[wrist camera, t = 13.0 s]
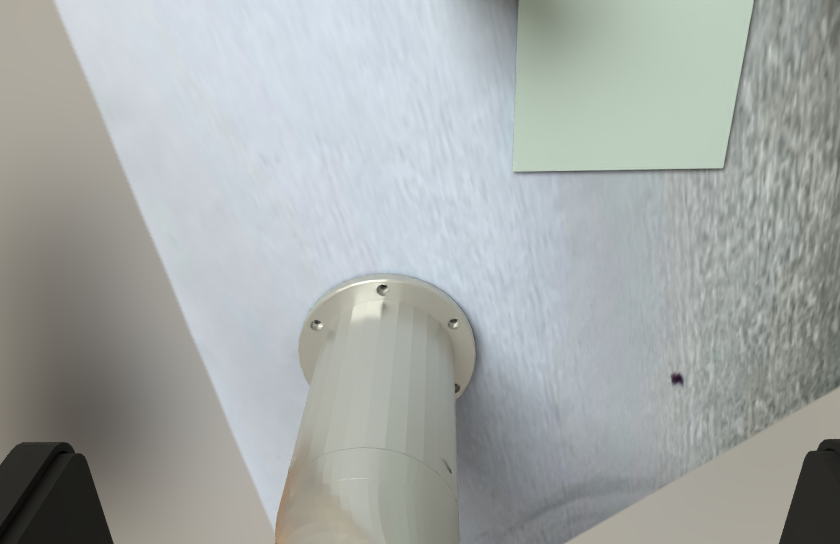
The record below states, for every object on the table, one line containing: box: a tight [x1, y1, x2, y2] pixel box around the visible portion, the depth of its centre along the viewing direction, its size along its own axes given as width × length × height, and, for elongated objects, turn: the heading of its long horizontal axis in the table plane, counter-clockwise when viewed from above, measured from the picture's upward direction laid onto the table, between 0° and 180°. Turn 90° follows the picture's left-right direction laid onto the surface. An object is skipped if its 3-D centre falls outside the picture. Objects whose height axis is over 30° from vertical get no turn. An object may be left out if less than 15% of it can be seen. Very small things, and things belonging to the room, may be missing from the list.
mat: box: [512, 0, 754, 172], centre depth 42 cm, size 13×13×1 cm
